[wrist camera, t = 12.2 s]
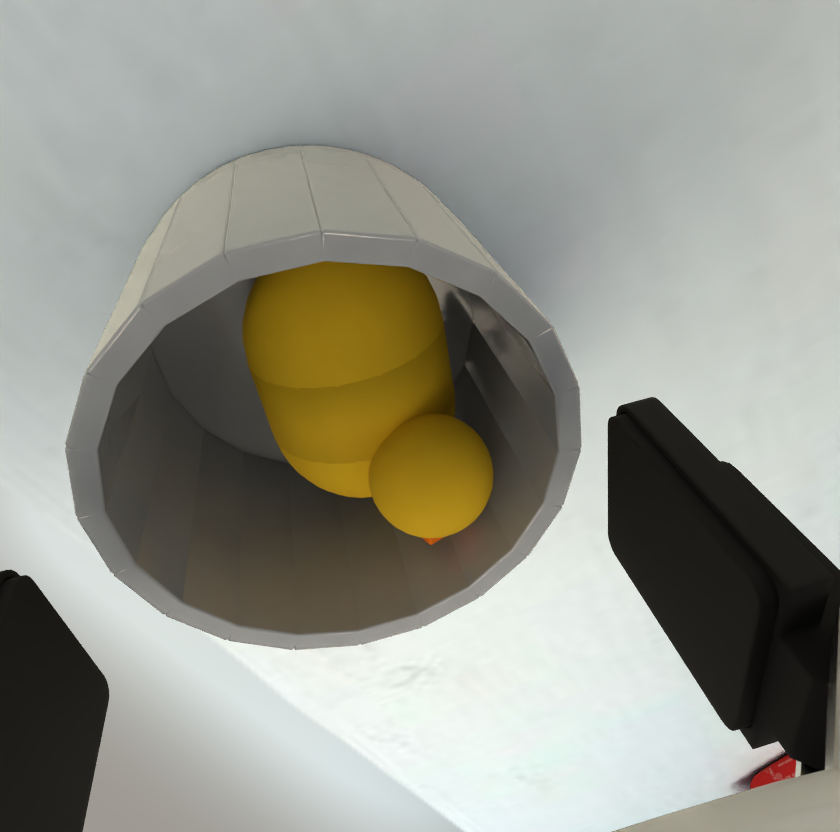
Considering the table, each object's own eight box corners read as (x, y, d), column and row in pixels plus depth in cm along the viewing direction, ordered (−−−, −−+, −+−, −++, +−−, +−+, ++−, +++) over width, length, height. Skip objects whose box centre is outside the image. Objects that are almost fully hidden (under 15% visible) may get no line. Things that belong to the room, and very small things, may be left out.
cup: (66, 193, 15) (-52, 317, 9) (458, 106, 16) (573, 170, 10) (207, 496, 20) (187, 695, 15) (497, 421, 21) (587, 581, 15)
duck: (183, 252, 15) (314, 338, 10) (357, 190, 17) (535, 239, 12) (271, 482, 19) (396, 621, 14) (404, 411, 20) (553, 512, 16)
